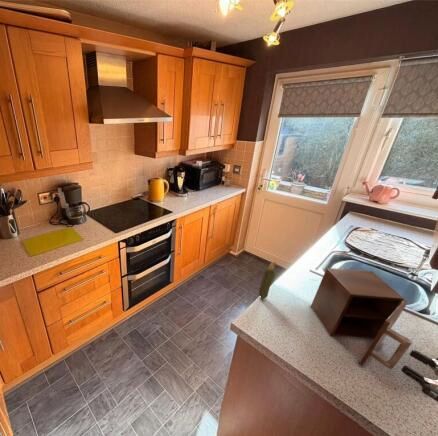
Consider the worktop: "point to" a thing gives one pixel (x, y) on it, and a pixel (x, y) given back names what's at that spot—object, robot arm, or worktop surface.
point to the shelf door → (396, 336)
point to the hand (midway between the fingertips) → (406, 359)
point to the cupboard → (354, 303)
